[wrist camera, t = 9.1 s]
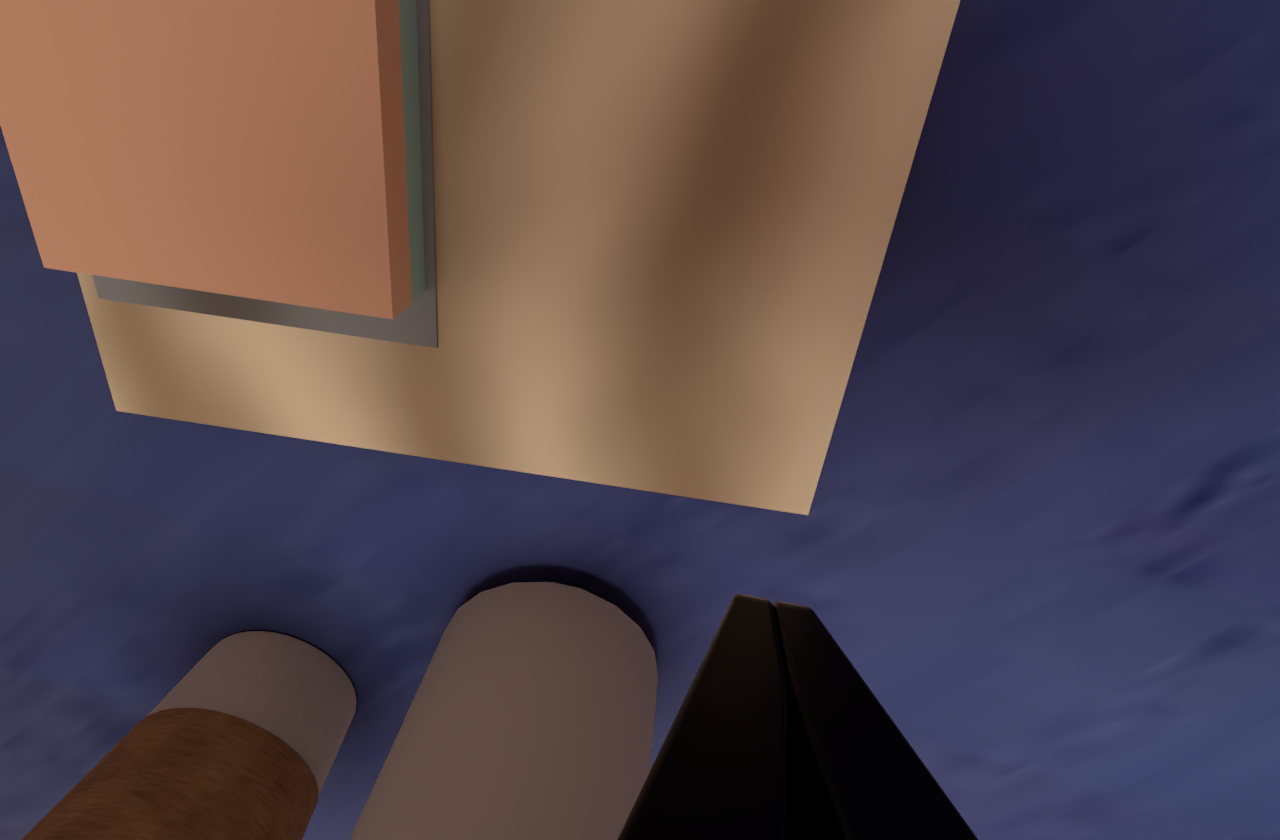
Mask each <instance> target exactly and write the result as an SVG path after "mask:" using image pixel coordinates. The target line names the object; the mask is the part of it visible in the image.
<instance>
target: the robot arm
mask: <svg viewBox="0 0 1280 840" xmlns="http://www.w3.org/2000/svg"><path fill="white" fill-rule="evenodd" d="M617 840H978V839H977V837H976V836H975V834H974V833H973V832H972V830H971V829H970V828H969V826H968V825H967V823H966V822H965V821H964V819H963V818H962V816H961V815H960V814H959V812H958V811H957V809H956V808H955V807H954V805H953V804H952V803H951V801H950V800H949V798H948V797H947V796H946V794H945V793H944V791H943V790H942V789H941V787H940V786H939V784H938V783H937V782H936V780H935V779H934V778H933V776H932V775H931V773H930V772H929V771H928V769H927V768H926V766H925V765H924V764H923V762H922V761H921V759H920V758H919V757H918V755H917V754H916V753H915V751H914V750H913V748H912V747H911V746H910V744H909V743H908V741H907V740H906V739H905V737H904V736H903V734H902V733H901V732H900V730H899V729H898V728H897V726H896V725H895V723H894V722H893V721H892V719H891V718H890V716H889V715H888V714H887V712H886V711H885V709H884V708H883V707H882V705H881V704H880V703H879V701H878V700H877V698H876V697H875V696H874V694H873V693H872V691H871V690H870V689H869V687H868V686H867V684H866V683H865V682H864V680H863V679H862V678H861V676H860V675H859V673H858V672H857V671H856V669H855V668H854V666H853V665H852V664H851V662H850V661H849V659H848V658H847V657H846V655H845V654H844V652H843V651H842V650H841V648H840V647H839V646H838V644H837V643H836V641H835V640H834V639H833V637H832V636H831V634H830V633H829V632H828V630H827V629H826V627H825V626H824V625H823V623H822V622H821V621H820V619H819V618H818V616H817V615H816V614H815V612H814V611H813V610H812V609H810V608H809V607H806V606H802V605H797V604H791V603H786V602H780V601H777V602H775V603H773V604H772V603H771V602H770V601H769V600H767V599H764V598H758V597H753V596H748V595H742V594H737V595H735V596H734V597H733V599H732V601H731V603H730V605H729V607H728V609H727V611H726V613H725V615H724V617H723V620H722V622H721V624H720V626H719V628H718V630H717V632H716V634H715V636H714V638H713V640H712V643H711V645H710V647H709V649H708V651H707V653H706V655H705V657H704V659H703V661H702V663H701V666H700V668H699V670H698V672H697V674H696V676H695V678H694V680H693V682H692V684H691V687H690V689H689V691H688V693H687V695H686V697H685V699H684V701H683V703H682V705H681V707H680V710H679V712H678V714H677V716H676V718H675V720H674V722H673V724H672V726H671V728H670V730H669V733H668V735H667V737H666V739H665V741H664V743H663V745H662V747H661V749H660V751H659V753H658V756H657V758H656V760H655V762H654V764H653V766H652V768H651V770H650V772H649V774H648V776H647V779H646V781H645V783H644V785H643V787H642V789H641V791H640V793H639V795H638V797H637V799H636V802H635V804H634V806H633V808H632V810H631V812H630V814H629V816H628V818H627V820H626V822H625V825H624V827H623V829H622V831H621V833H620V835H619V837H618V839H617Z"/></svg>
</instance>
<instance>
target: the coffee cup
mask: <svg viewBox="0 0 1280 840" xmlns="http://www.w3.org/2000/svg"><path fill="white" fill-rule="evenodd" d="M356 702H357V700H356V695H355V690H354V688H353V685H352V683H351V681H350V679H349V678H348V676H347V675H346V673H345V672H344V671H343V669H342V668H341V667H340V666H339V665H338V664H337V663H336V662H335V661H334V660H333V659H331V658H330V657H329V656H327V655H326V654H325V653H323V652H322V651H321V650H319V649H317V648H315V647H313V646H312V645H310V644H308V643H306V642H304V641H301V640H299V639H296V638H294V637H291V636H287V635H283V634H279V633H274V632H266V631H246V632H241V633H236V634H233V635H231V636H229V637H227V638H224V639H222V640H221V641H220V642H219V643H217V644H216V645H215V646H214V647H213V648H212V649H211V650H210V651H209V652H208V653H207V654H206V655H205V656H204V657H203V658H202V659H201V660H200V661H199V662H198V663H197V664H196V665H195V666H194V667H193V668H192V669H191V670H190V671H189V672H188V673H187V674H186V676H185V677H184V678H183V679H182V680H181V681H180V682H179V683H178V684H177V685H176V686H175V687H174V688H173V689H172V690H171V691H170V692H169V693H168V694H167V695H166V697H165V698H164V699H163V700H162V701H161V702H160V703H159V704H158V705H157V706H156V707H155V708H154V709H153V710H152V711H151V712H150V713H149V714H148V715H147V716H146V717H145V718H144V719H143V720H142V721H140V722H139V723H138V724H137V725H136V726H135V727H134V728H133V729H132V730H131V731H130V732H129V733H128V734H127V735H126V736H125V737H124V738H123V739H122V740H121V741H120V742H119V743H118V744H117V745H116V746H115V747H114V748H113V749H112V750H111V751H110V752H109V753H108V754H107V755H106V756H105V757H104V758H103V759H102V760H101V761H100V762H99V763H98V764H97V765H96V766H95V767H94V768H93V769H92V770H91V771H90V772H89V773H88V774H87V775H86V776H85V777H84V778H83V779H82V780H81V781H80V782H79V783H78V784H77V785H76V786H75V787H74V788H73V789H72V790H71V791H70V792H69V793H68V794H67V795H66V796H65V797H64V798H63V799H62V800H61V801H60V802H59V803H58V804H57V805H56V806H55V807H54V808H53V809H52V810H51V811H50V812H49V813H48V814H47V815H46V816H45V817H44V818H43V819H42V820H41V821H40V822H39V823H38V824H37V825H36V826H35V827H34V828H33V829H32V830H31V831H30V832H29V833H28V834H27V835H26V836H25V837H24V838H23V839H22V840H302V838H303V836H304V833H305V831H306V828H307V826H308V824H309V821H310V819H311V816H312V814H313V811H314V809H315V807H316V804H317V802H318V796H319V794H320V792H321V789H322V787H323V785H324V783H325V780H326V778H327V776H328V774H329V771H330V769H331V767H332V764H333V762H334V760H335V758H336V755H337V753H338V751H339V749H340V746H341V744H342V742H343V740H344V737H345V735H346V733H347V730H348V728H349V726H350V724H351V721H352V719H353V717H354V714H355V711H356Z"/></svg>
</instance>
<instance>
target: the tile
mask: <svg viewBox="0 0 1280 840" xmlns="http://www.w3.org/2000/svg"><path fill="white" fill-rule="evenodd" d="M0 125H1V129H2V132H3V135H4V138H5V142H6V145H7V148H8V151H9V155H10V158H11V161H12V164H13V168H14V171H15V174H16V178H17V181H18V184H19V187H20V191H21V194H22V197H23V200H24V204H25V207H26V210H27V213H28V217H29V220H30V223H31V227H32V230H33V233H34V236H35V240H36V243H37V246H38V249H39V253H40V256H41V259H42V263H43V266H44V268H50V269H57V270H63V271H70V272H77V273H84V274H90V275H97V276H104V277H110V278H117V279H124V280H131V281H137V282H144V283H151V284H157V285H164V286H171V287H178V288H184V289H191V290H198V291H205V292H211V293H218V294H225V295H231V296H238V297H245V298H252V299H258V300H265V301H272V302H279V303H285V304H292V305H299V306H305V307H312V308H319V309H326V310H332V311H339V312H346V313H353V314H359V315H366V316H373V317H379V318H386V319H394V318H395V317H396V316H397V315H399V314H400V313H401V312H402V311H403V310H404V309H406V308H407V307H408V306H409V305H410V304H411V303H413V302H414V301H415V300H416V299H417V298H418V297H420V296H421V295H422V294H423V293H424V292H425V264H424V232H423V200H422V168H421V137H420V105H419V73H418V41H417V10H416V0H0Z"/></svg>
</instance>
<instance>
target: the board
mask: <svg viewBox="0 0 1280 840" xmlns="http://www.w3.org/2000/svg"><path fill="white" fill-rule="evenodd" d="M959 3H960V0H416V10H417V41H418V73H419V105H420V137H421V168H422V200H423V232H424V264H425V292H424V293H423V294H422V295H421V296H420V297H418V298H417V299H416V300H415V301H414V302H413V303H411V304H410V305H409V306H408V307H407V308H406V309H404V310H403V311H402V312H401V313H400V314H399V315H397V316H396V317H395V318H394V319H386V318H379V317H373V316H366V315H359V314H353V313H346V312H339V311H332V310H326V309H319V308H312V307H305V306H299V305H292V304H285V303H279V302H272V301H265V300H258V299H252V298H245V297H238V296H231V295H225V294H218V293H211V292H205V291H198V290H191V289H184V288H178V287H171V286H164V285H157V284H151V283H144V282H137V281H131V280H124V279H117V278H110V277H104V276H97V275H90V274H84V273H77V275H78V278H79V282H80V285H81V289H82V292H83V296H84V299H85V303H86V306H87V310H88V313H89V317H90V320H91V324H92V327H93V331H94V334H95V338H96V341H97V345H98V348H99V352H100V355H101V359H102V362H103V366H104V369H105V373H106V376H107V380H108V383H109V387H110V391H111V394H112V398H113V401H114V405H115V408H116V411H121V412H128V413H134V414H141V415H148V416H154V417H161V418H168V419H174V420H181V421H187V422H194V423H201V424H207V425H214V426H220V427H227V428H234V429H240V430H247V431H254V432H260V433H267V434H273V435H280V436H287V437H293V438H300V439H307V440H313V441H320V442H326V443H333V444H340V445H346V446H353V447H360V448H366V449H373V450H379V451H386V452H393V453H399V454H406V455H413V456H419V457H426V458H432V459H439V460H446V461H452V462H459V463H465V464H472V465H479V466H485V467H492V468H499V469H505V470H512V471H518V472H525V473H532V474H538V475H545V476H552V477H558V478H565V479H571V480H578V481H585V482H591V483H598V484H605V485H611V486H618V487H624V488H631V489H638V490H644V491H651V492H658V493H664V494H671V495H677V496H684V497H691V498H697V499H704V500H710V501H717V502H724V503H730V504H737V505H744V506H750V507H757V508H763V509H770V510H777V511H783V512H790V513H797V514H803V515H808V514H809V510H810V507H811V504H812V500H813V497H814V494H815V490H816V487H817V483H818V480H819V477H820V473H821V470H822V466H823V463H824V460H825V456H826V453H827V450H828V446H829V443H830V439H831V436H832V433H833V429H834V426H835V423H836V419H837V416H838V412H839V409H840V406H841V402H842V399H843V395H844V392H845V389H846V385H847V382H848V379H849V375H850V372H851V368H852V365H853V362H854V358H855V355H856V352H857V348H858V345H859V341H860V338H861V335H862V331H863V328H864V325H865V321H866V318H867V314H868V311H869V308H870V304H871V301H872V297H873V294H874V291H875V287H876V284H877V281H878V277H879V274H880V270H881V267H882V264H883V260H884V257H885V254H886V250H887V247H888V243H889V240H890V237H891V233H892V230H893V226H894V223H895V220H896V216H897V213H898V210H899V206H900V203H901V199H902V196H903V193H904V189H905V186H906V183H907V179H908V176H909V172H910V169H911V166H912V162H913V159H914V155H915V152H916V149H917V145H918V142H919V139H920V135H921V132H922V128H923V125H924V122H925V118H926V115H927V112H928V108H929V105H930V101H931V98H932V95H933V91H934V88H935V84H936V81H937V78H938V74H939V71H940V68H941V64H942V61H943V57H944V54H945V51H946V47H947V44H948V41H949V37H950V34H951V30H952V27H953V24H954V20H955V17H956V14H957V10H958V7H959Z"/></svg>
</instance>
